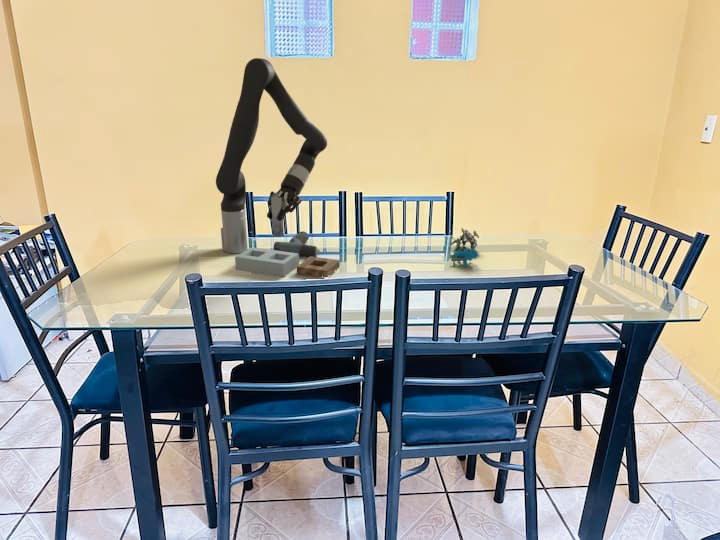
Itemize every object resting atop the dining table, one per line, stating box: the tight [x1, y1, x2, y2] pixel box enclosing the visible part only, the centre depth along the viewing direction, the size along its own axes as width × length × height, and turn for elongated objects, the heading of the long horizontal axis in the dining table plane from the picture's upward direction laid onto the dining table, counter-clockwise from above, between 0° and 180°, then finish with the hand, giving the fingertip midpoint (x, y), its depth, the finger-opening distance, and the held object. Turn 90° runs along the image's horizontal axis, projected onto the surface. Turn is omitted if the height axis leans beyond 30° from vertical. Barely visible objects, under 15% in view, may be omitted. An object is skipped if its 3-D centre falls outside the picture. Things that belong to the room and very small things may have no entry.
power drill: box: [273, 231, 321, 257], centre depth 204 cm, size 5×19×20 cm
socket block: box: [296, 256, 341, 278], centre depth 181 cm, size 12×12×3 cm
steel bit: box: [271, 196, 285, 238], centre depth 175 cm, size 4×4×14 cm
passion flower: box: [450, 227, 480, 252], centre depth 206 cm, size 11×11×12 cm
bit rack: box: [234, 246, 300, 278], centre depth 183 cm, size 20×12×5 cm, turn 71°
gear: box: [448, 248, 479, 268], centre depth 189 cm, size 11×6×10 cm
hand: (273, 218), depth 174 cm, fingers closed on steel bit, 4 cm apart
